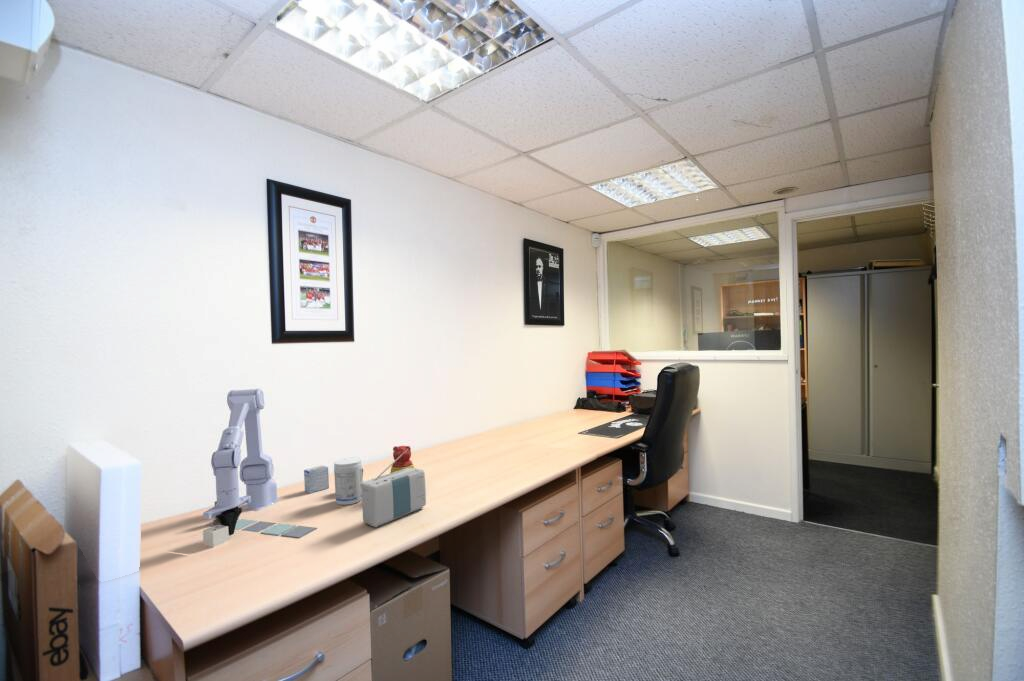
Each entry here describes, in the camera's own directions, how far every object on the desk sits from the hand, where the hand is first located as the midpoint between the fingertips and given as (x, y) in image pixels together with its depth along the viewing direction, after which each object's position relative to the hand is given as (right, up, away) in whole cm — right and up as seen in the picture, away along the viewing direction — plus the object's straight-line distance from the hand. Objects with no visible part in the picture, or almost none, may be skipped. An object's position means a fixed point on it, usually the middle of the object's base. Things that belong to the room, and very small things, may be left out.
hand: (229, 534), depth 138 cm
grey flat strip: (+5, -1, +8) cm, 9 cm away
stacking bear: (+44, +1, +35) cm, 56 cm away
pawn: (-10, -1, +13) cm, 17 cm away
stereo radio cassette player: (+47, +1, +12) cm, 48 cm away
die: (-2, -1, -4) cm, 4 cm away
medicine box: (+8, -1, +44) cm, 44 cm away
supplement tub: (+26, 0, +29) cm, 39 cm away
